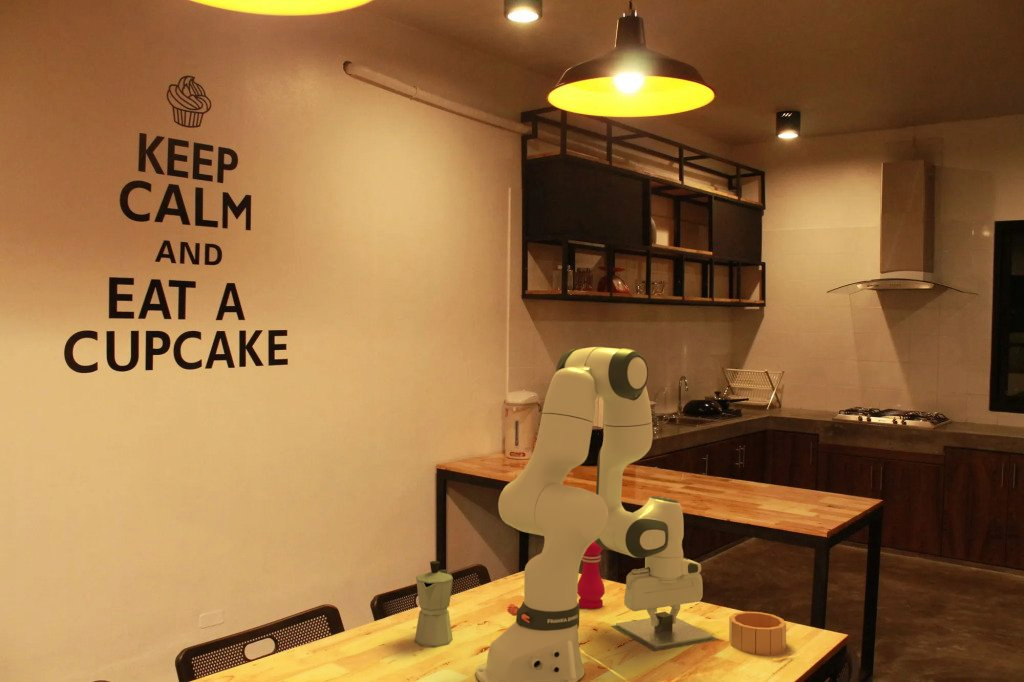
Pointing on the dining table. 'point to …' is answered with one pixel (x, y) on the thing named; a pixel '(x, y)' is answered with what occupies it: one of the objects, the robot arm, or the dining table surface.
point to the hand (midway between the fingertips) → (663, 624)
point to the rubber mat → (664, 647)
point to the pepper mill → (591, 579)
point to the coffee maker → (434, 607)
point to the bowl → (757, 633)
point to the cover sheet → (664, 631)
